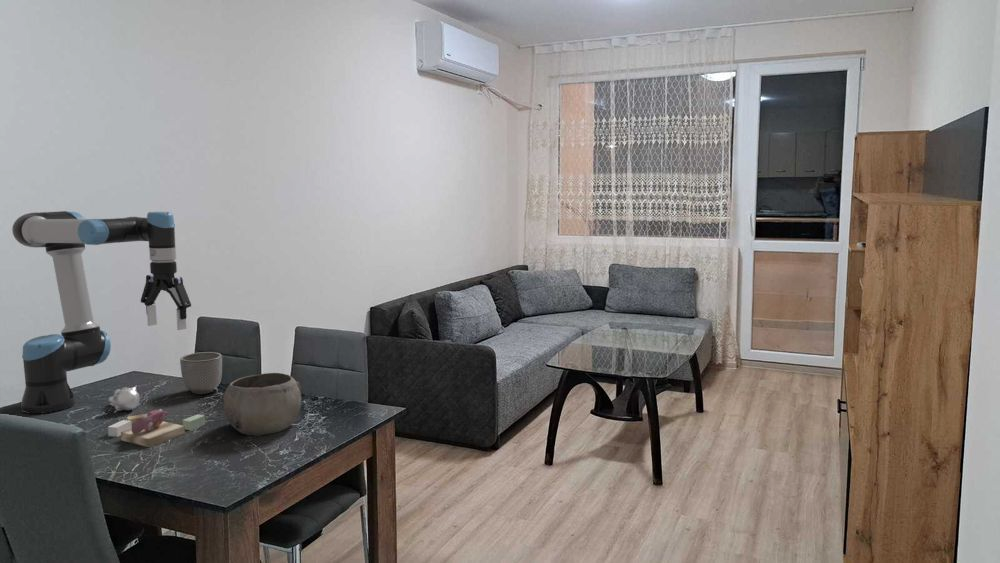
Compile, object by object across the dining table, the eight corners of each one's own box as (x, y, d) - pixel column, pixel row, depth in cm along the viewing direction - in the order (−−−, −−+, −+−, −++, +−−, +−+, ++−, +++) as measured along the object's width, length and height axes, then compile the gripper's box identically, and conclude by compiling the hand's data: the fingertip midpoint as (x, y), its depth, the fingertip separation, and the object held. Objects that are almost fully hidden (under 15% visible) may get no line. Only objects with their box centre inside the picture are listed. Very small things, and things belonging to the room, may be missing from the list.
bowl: (281, 409, 235) (279, 365, 233) (316, 427, 219) (315, 380, 217) (212, 426, 219) (209, 379, 217) (244, 446, 203) (242, 395, 201)
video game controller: (141, 440, 204) (148, 420, 202) (128, 432, 204) (136, 412, 203) (165, 429, 213) (173, 410, 211) (153, 421, 214) (161, 402, 212)
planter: (214, 397, 247) (212, 361, 245) (174, 397, 247) (172, 361, 246) (229, 386, 261) (228, 352, 259) (192, 385, 261) (190, 351, 259)
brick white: (123, 429, 216) (122, 420, 215) (131, 430, 215) (131, 420, 215) (108, 436, 210) (108, 426, 210) (117, 437, 209) (116, 427, 209)
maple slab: (121, 440, 206) (120, 432, 206) (157, 427, 217) (156, 419, 217) (149, 447, 201) (148, 438, 201) (184, 434, 212) (184, 426, 211)
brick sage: (190, 430, 215) (189, 421, 215) (182, 429, 216) (182, 420, 216) (205, 424, 221) (205, 415, 220) (198, 423, 222) (197, 414, 221)
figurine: (119, 378, 241) (132, 379, 230) (137, 391, 245) (151, 392, 234) (97, 405, 236) (109, 407, 225) (116, 417, 240) (129, 419, 229)
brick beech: (128, 428, 216) (127, 419, 216) (127, 425, 219) (127, 416, 219) (150, 425, 219) (149, 416, 219) (149, 422, 222) (148, 413, 222)
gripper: (125, 259, 225) (130, 325, 228) (180, 264, 214) (184, 333, 217) (146, 257, 232) (150, 321, 235) (201, 262, 221) (204, 328, 224)
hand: (167, 327), depth 226 cm, fingers open, 13 cm apart
